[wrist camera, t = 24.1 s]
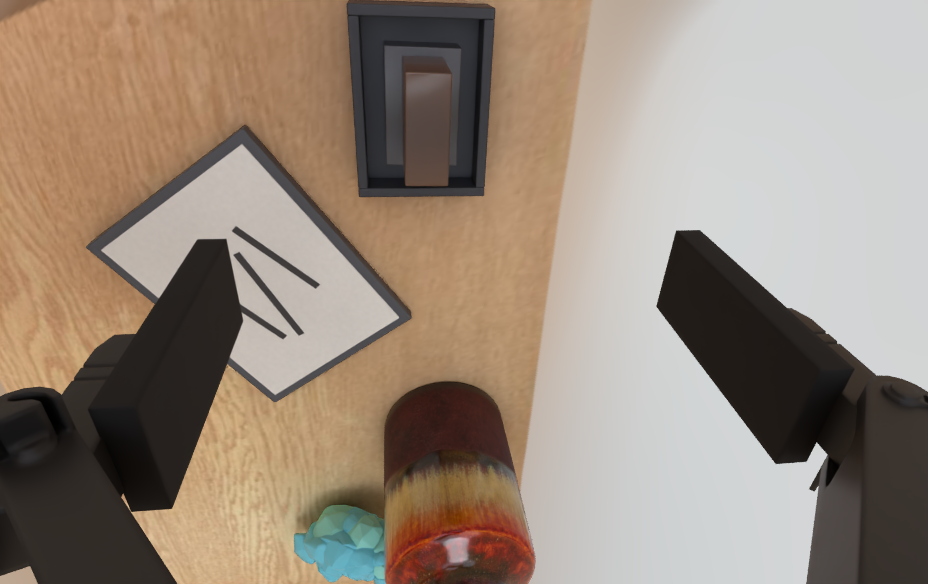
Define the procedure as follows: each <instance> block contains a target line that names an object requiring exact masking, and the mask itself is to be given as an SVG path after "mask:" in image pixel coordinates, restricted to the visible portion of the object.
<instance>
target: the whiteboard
mask: <svg viewBox="0 0 928 584" xmlns="http://www.w3.org/2000/svg"><path fill="white" fill-rule="evenodd" d="M197 239H227V244H228V249H229V253H230V258H231V263H232V268H233V273H234V278H235V283H236V287H237V292H238V297H239V302H240V307H241V312H242V317H243V324H242V326H241V329H240V331H239V334H238V337H237V339H236V342H235V345H234V347H233V350H232V352H231V355H230V358H229V360H228V363H227V364H228V365H230V366H231V367H232V368H233V369H234V370H236V371H237V372H238V373H239V374H241V375H242V376H243V377H244V378H245V379H247V380H248V381H249V382H250V383H252V384H253V385H254V386H255V387H256V388H258V389H259V390H260V391H261V392H262V393H264V394H265V395H266V396H267V397H269V398H270V399H271V400H272V401H273V402H277V401H278V400H280V399H282V398H283V397H285V396H287V395H288V394H290V393H291V392H293V391H295V390H296V389H298V388H299V387H301V386H303V385H304V384H306V383H308V382H309V381H311V380H312V379H314V378H316V377H317V376H319V375H321V374H322V373H324V372H325V371H327V370H329V369H330V368H332V367H333V366H335V365H337V364H338V363H340V362H342V361H343V360H345V359H346V358H348V357H350V356H351V355H353V354H355V353H356V352H358V351H359V350H361V349H363V348H364V347H366V346H367V345H369V344H371V343H372V342H374V341H376V340H377V339H379V338H380V337H382V336H384V335H385V334H387V333H388V332H390V331H392V330H393V329H395V328H397V327H398V326H400V325H401V324H403V323H405V322H406V321H408V320H410V319H411V312H410V310H409V309H408V308H407V307H406V306H405V305H404V304H403V302H402V301H401V300H400V299H399V298H398V297H397V296H396V295H395V293H394V292H393V291H392V290H391V289H390V288H389V287H388V286H387V284H386V283H385V282H384V281H383V280H382V279H381V278H380V276H379V275H378V274H377V273H376V272H375V271H374V270H373V269H372V267H371V266H370V265H369V264H368V263H367V262H366V261H365V259H364V258H363V257H362V256H361V255H360V254H359V253H358V252H357V250H356V249H355V248H354V247H353V246H352V245H351V244H350V242H349V241H348V240H347V239H346V238H345V237H344V236H343V235H342V233H341V232H340V231H339V230H338V229H337V228H336V227H335V226H334V224H333V223H332V222H331V221H330V220H329V219H328V218H327V216H326V215H325V214H324V213H323V212H322V211H321V210H320V209H319V207H318V206H317V205H316V204H315V203H314V202H313V201H312V199H311V198H310V197H309V196H308V195H307V194H306V193H305V192H304V190H303V189H302V188H301V187H300V186H299V185H298V184H297V183H296V181H295V180H294V179H293V178H292V177H291V176H290V175H289V173H288V172H287V171H286V170H285V169H284V168H283V167H282V166H281V164H280V163H279V162H278V161H277V160H276V159H275V158H274V156H273V155H272V154H271V153H270V152H269V151H268V150H267V149H266V147H265V146H264V145H263V144H262V143H261V142H260V141H259V139H258V138H257V137H256V136H255V135H254V134H253V133H252V132H251V130H250V129H249V128H248V127H247V126H246V125H244V126H243V127H242V128H240V129H239V130H238V131H236V132H235V133H234V134H232V135H231V136H230V137H228V138H227V139H226V140H224V141H223V142H222V143H220V144H219V145H218V146H217V147H215V148H214V149H213V150H211V151H210V152H209V153H207V154H206V155H205V156H203V157H202V158H201V159H199V160H198V161H197V162H195V163H194V164H193V165H192V166H190V167H189V168H188V169H186V170H185V171H184V172H182V173H181V174H180V175H178V176H177V177H176V178H174V179H173V180H172V181H170V182H169V183H168V184H166V185H165V186H164V187H163V188H161V189H160V190H159V191H157V192H156V193H155V194H153V195H152V196H151V197H149V198H148V199H147V200H145V201H144V202H143V203H141V204H140V205H139V206H137V207H136V208H135V209H134V210H132V211H131V212H130V213H128V214H127V215H126V216H124V217H123V218H122V219H120V220H119V221H118V222H116V223H115V224H114V225H112V226H111V227H110V228H109V229H107V230H106V231H105V232H103V233H102V234H101V235H99V236H98V237H97V238H95V239H94V240H93V241H91V242H90V243H89V244H88V245H87V246H86V248H87V249H88V250H89V251H91V252H92V253H93V254H94V255H96V256H97V257H98V258H99V259H100V260H102V261H103V262H104V263H105V264H107V265H108V266H109V267H110V268H111V269H113V270H114V271H115V272H116V273H118V274H119V275H120V276H121V277H122V278H124V279H125V280H126V281H127V282H128V283H130V284H131V285H132V286H133V287H135V288H136V289H137V290H138V291H139V292H141V293H142V294H143V295H144V296H146V297H147V298H148V299H149V300H150V301H152V302H153V303H154V304H156V302H157V301H158V299H159V298H160V296H161V295H162V293H163V291H164V290H165V288H166V287H167V285H168V284H169V282H170V281H171V279H172V278H173V276H174V274H175V273H176V271H177V270H178V268H179V267H180V265H181V264H182V262H183V261H184V259H185V257H186V256H187V254H188V253H189V251H190V250H191V248H192V247H193V245H194V244H195V242H196V240H197Z"/></svg>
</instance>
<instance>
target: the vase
mask: <svg viewBox="0 0 928 584" xmlns="http://www.w3.org/2000/svg"><path fill="white" fill-rule="evenodd" d="M534 569H535V553H534V548H533V544H532V540H531V536H530V531H529V527H528V523H527V519H526V515H525V511H524V507H523V503H522V499H521V495H520V490H519V486H518V482H517V478H516V474H515V470H514V466H513V462H512V458H511V454H510V450H509V446H508V442H507V438H506V434H505V430H504V426H503V422H502V418H501V414H500V411H499V409H498V407H497V405H496V403H495V402H494V401H493V399H492V398H491V397H490V396H489V395H487V394H486V393H485V392H483V391H482V390H480V389H478V388H476V387H473V386H471V385H467V384H463V383H456V382H441V383H434V384H429V385H425V386H423V387H420V388H417V389H415V390H413V391H411V392H409V393H408V394H406V395H405V396H403V397H402V398H401V399H400V400H399V401H398V402H397V403H396V404H395V405H394V406H393V407H392V409H391V410H390V412H389V414H388V416H387V419H386V423H385V431H384V574H385V583H386V584H528V583H529V581H530V579H531V577H532V575H533V572H534Z"/></svg>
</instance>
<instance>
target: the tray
mask: <svg viewBox="0 0 928 584" xmlns="http://www.w3.org/2000/svg"><path fill="white" fill-rule="evenodd" d="M347 14H348V32H349V48H350V63H351V79H352V94H353V110H354V125H355V141H356V157H357V172H358V187H359V197H421V196H484V186H485V170H486V153H487V137H488V120H489V104H490V87H491V71H492V54H493V38H494V19H495V8H493V7H492V6H490V5H488V4H467V3H437V2H407V1H378V0H349V1H348V3H347ZM384 41H409V42H434V43H457V44H459V46H460V47H461V48H462V62H461V83H460V104H459V125H458V147H457V165H456V166H449V176H448V186H406V185H405V178H404V166H403V165H386V142H385V94H384V47H383V46H384Z"/></svg>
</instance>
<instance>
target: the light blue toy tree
mask: <svg viewBox="0 0 928 584" xmlns="http://www.w3.org/2000/svg"><path fill="white" fill-rule="evenodd" d="M294 552H295V553H296V554H297V555H298V556H299V557H300V558H301V559H302V560H303V561H305V562H307V563H309V564H313V563H314V562H316V564H317V568H318V571H319V572H320V573H321V574H322V575H323V576H324V577H325V578H326V579H327V580H328V581H329V582H336V581H337V580H338V579H339V578H340V577H341V576H342V575H345V577H347V576H348V577H349V578H350V579H353V580H356V581H358V580H364V581H371V580H374V583H375V584H386V583H385V574H384V519H382V518H380V517H379V518H378V516H377V515H376V514H371V513H369V512H367V511H365V510H363V509H360V508H358V507H352V506H349V505H330V506H328V507H327V508H325V509H324V511H323V512H322V514H321V516H320V517H319V519H318V521H316V522H314V523H312V524H311V526H310V528H309V530H308V532H307V533H296V534H295V535H294Z"/></svg>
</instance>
